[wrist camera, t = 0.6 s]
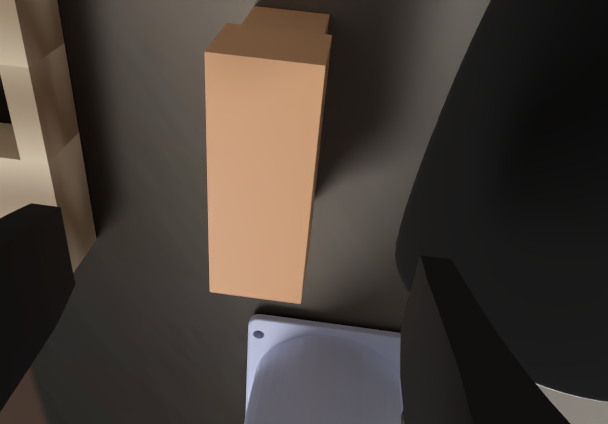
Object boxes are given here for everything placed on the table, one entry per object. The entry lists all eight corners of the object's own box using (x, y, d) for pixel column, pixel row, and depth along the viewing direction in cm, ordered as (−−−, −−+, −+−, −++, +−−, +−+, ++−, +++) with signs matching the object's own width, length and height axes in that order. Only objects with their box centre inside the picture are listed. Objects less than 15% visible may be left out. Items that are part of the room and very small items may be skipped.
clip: (315, 210, 23) (300, 304, 18) (242, 200, 23) (209, 291, 18) (338, 7, 18) (325, 65, 14) (246, -3, 18) (204, 52, 14)
